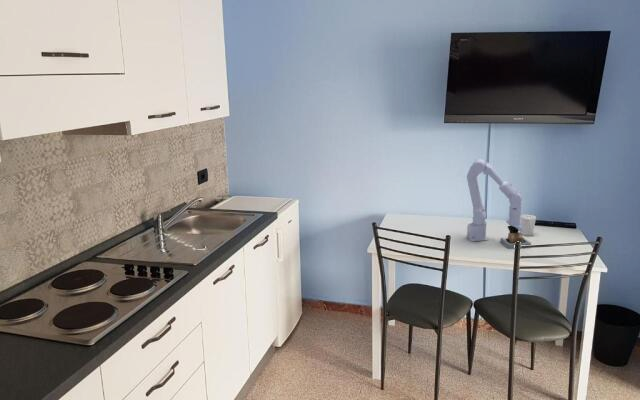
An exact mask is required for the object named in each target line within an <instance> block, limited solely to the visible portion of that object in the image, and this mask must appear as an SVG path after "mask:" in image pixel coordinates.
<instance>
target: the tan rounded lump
mask: <svg viewBox="0 0 640 400" xmlns="http://www.w3.org/2000/svg"><path fill="white" fill-rule="evenodd" d="M523 236H524V235H522V234H521V233H520V232H518V233H510V232H509V233H508V236H507V238H505V240H506V241H507V242H508V243H509V244H512V243H515V242H517V241H519V242H521V243H524V242H523V239H524V238H525V237H523Z"/></svg>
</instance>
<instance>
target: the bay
mask: <svg viewBox="0 0 640 400" xmlns="http://www.w3.org/2000/svg"><path fill="white" fill-rule="evenodd" d="M523 238H524V239H523V242H524V243H521V245H532V243H531V242H530V241H528V240H527V239H526V238H525V237H523ZM499 241H500V244H502V245H503V246H504V247H505V248H507V249H509V250H512V249H514V245H515V243H512V244H509V243H508V242H507V241H506V239H504V237H501V238H500V239H499ZM514 250H515V249H514Z"/></svg>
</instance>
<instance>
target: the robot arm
mask: <svg viewBox="0 0 640 400" xmlns="http://www.w3.org/2000/svg"><path fill="white" fill-rule="evenodd" d="M481 173H482V174H483V175H486V176H487V175H488V176H489V177H490V178H491V179H492V180H493V181H494V182H495V183H496V184H497V185H498V189H499V190H500V191H501V193H503V194H504V196H505V197H506V198H508V201H509V206H508V207H509V210H508V211H509V212H508V213H509V214H508V218H506V220H505V221H506V223H507V224H508V226H507V228H508V231H509V233H519V232H520V231H523V227H522V226H521V224H522V222H520V218H521V215H522V200H523V196H522V194H521V191H518V189H516V188H514V187H513V183H511V182H509V181H505V180H504V179H503V178H502V177H501V176H500V174H499V173H498V172H497V171H496V170H495V169H494V167H493V166H492V165H491V164H490V163H489V162H488V161H487V160H486V159H485V158H483V157H481V158H480V157H479V158H477V159H475V160H474V162H473V163H472V164H471V166H470V168H469V169H468V172H467V174H466V179H467V185H468V189H469V190H468V191H469V194H470V195H469V196H470V199H471V204H472V214H473V216H472V222H471V223H468V224H467V227H466V229H467V230H466V238H467V239H469V240H470V241H471V242H481V241H484V242H485V241H489V239H488V238H487V236H486V235H487V234H486V233H487V221H486V218H487V216H488V214H487V211H486V210H485V208H484V206H483V203H482V197H481V193H480V187H479V182H478V176H479V175H480V174H481Z"/></svg>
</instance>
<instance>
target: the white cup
mask: <svg viewBox="0 0 640 400" xmlns="http://www.w3.org/2000/svg"><path fill="white" fill-rule="evenodd" d="M536 221H537V217H536V216H535V215H532V214H521V218H520V222H522V224H521V226H522V227H523V231H519V233H521V235H522V236H529V237H530V236H532V235H534V230H535V224H536Z"/></svg>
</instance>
